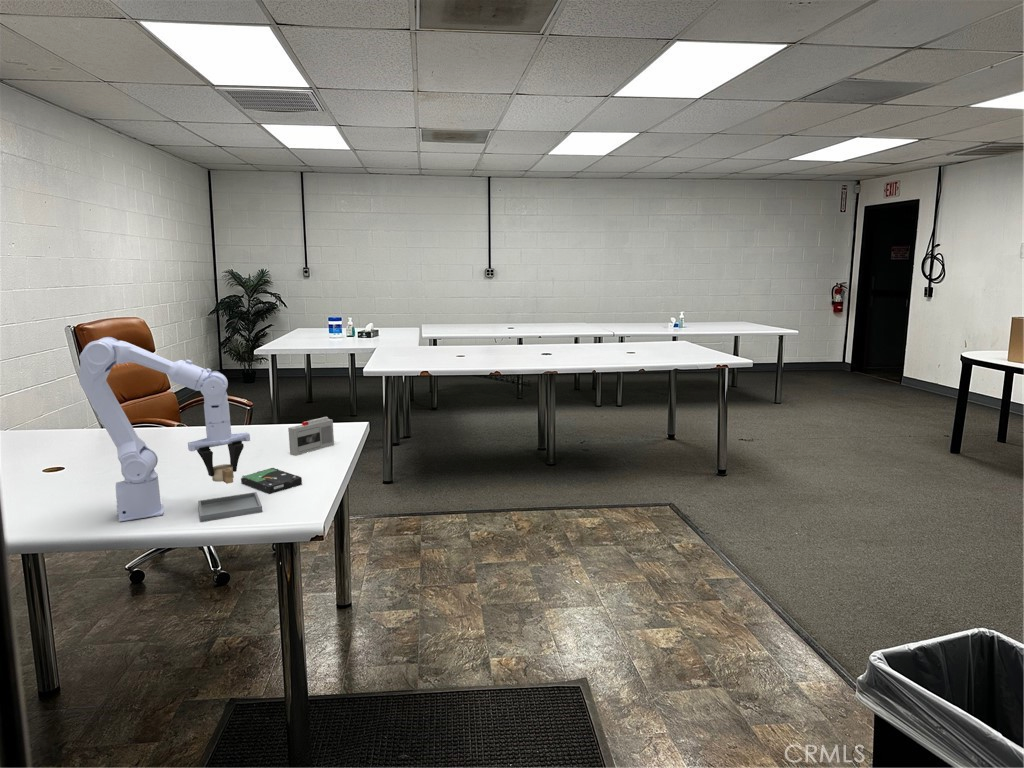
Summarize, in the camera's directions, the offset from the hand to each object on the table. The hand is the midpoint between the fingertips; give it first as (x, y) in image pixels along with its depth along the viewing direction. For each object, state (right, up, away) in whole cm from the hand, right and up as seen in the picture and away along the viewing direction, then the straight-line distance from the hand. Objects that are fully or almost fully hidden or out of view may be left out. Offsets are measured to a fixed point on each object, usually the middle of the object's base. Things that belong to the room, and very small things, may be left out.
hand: (222, 473), depth 171 cm
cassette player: (+7, 0, +53) cm, 53 cm away
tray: (+3, -9, -2) cm, 9 cm away
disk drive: (+6, -6, +18) cm, 20 cm away
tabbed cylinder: (+1, -2, -1) cm, 2 cm away
